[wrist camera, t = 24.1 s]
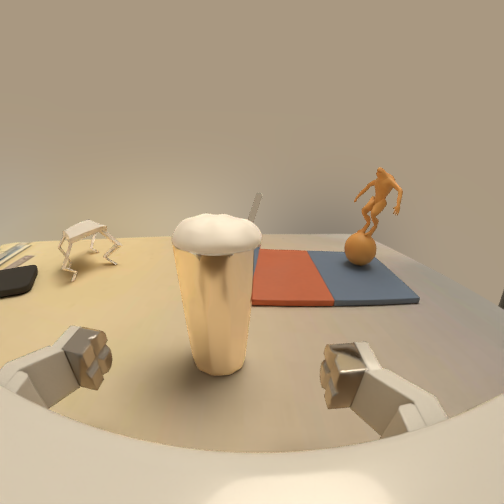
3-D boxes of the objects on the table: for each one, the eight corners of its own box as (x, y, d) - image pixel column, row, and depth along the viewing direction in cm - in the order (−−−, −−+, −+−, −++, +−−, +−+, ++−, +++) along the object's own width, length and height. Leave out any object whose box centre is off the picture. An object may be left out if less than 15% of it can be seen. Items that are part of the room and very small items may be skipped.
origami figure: (129, 272, 29) (125, 229, 27) (61, 286, 24) (52, 242, 22) (113, 245, 38) (110, 213, 36) (63, 254, 33) (58, 221, 31)
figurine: (328, 254, 35) (336, 162, 31) (363, 252, 37) (373, 167, 33) (364, 279, 27) (379, 165, 24) (402, 274, 29) (417, 173, 25)
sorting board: (369, 256, 37) (370, 252, 36) (418, 302, 23) (420, 297, 23) (235, 252, 36) (235, 248, 36) (225, 304, 23) (225, 298, 23)
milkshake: (278, 355, 17) (292, 198, 14) (213, 395, 13) (206, 207, 10) (232, 327, 20) (233, 189, 17) (170, 355, 16) (154, 196, 13)
